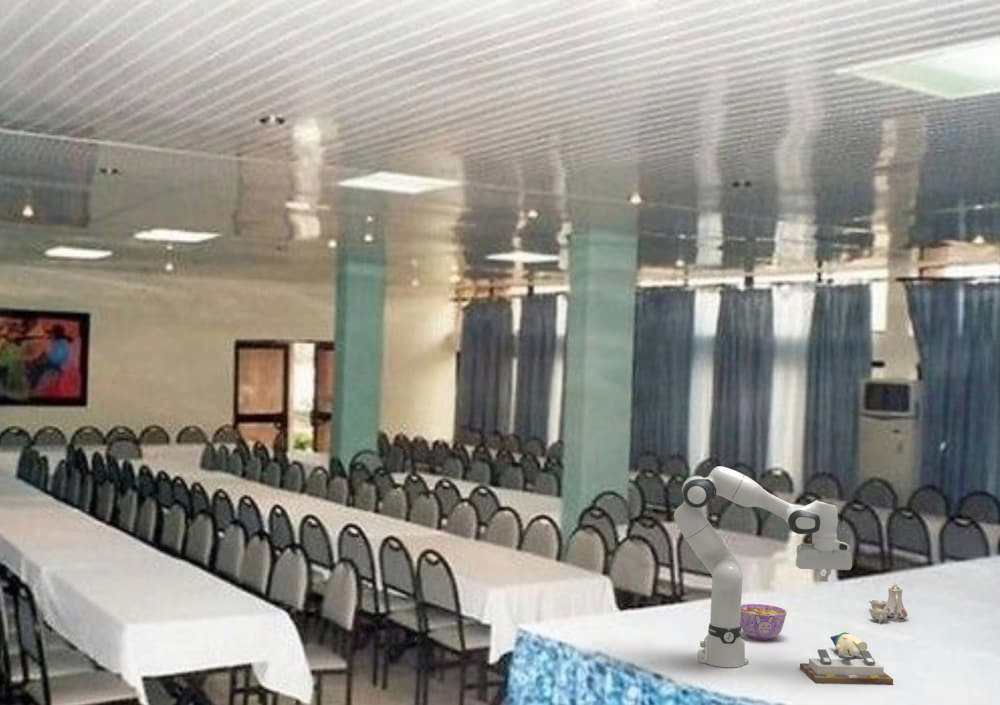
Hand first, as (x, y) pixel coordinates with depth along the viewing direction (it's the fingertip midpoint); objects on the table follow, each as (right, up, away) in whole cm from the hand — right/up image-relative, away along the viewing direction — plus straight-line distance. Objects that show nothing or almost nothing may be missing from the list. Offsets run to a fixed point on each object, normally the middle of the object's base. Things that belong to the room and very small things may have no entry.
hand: (823, 581), depth 413 cm
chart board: (+6, -33, -6) cm, 35 cm away
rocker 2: (+6, -26, -7) cm, 28 cm away
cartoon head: (+16, -34, +23) cm, 44 cm away
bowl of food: (-12, -33, +46) cm, 58 cm away
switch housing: (+6, -31, -6) cm, 33 cm away
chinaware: (+54, -35, +87) cm, 108 cm away
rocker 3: (+14, -27, -6) cm, 31 cm away
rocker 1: (-2, -26, -7) cm, 27 cm away
